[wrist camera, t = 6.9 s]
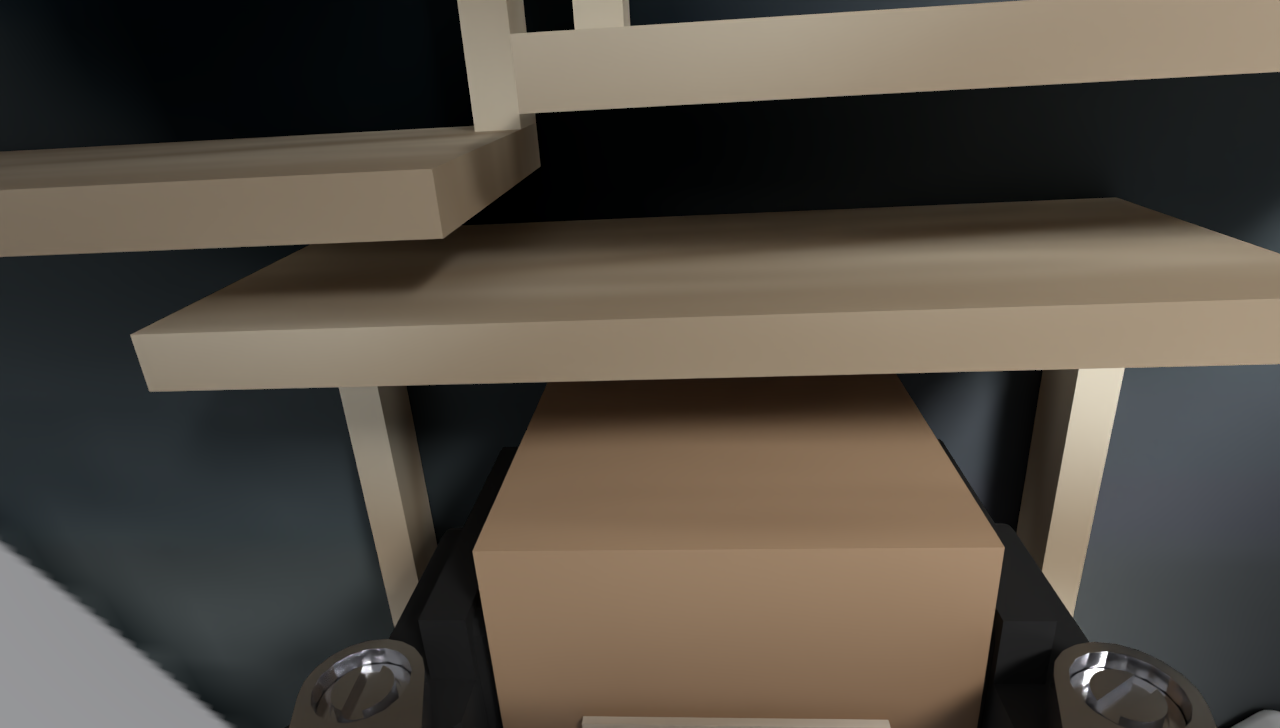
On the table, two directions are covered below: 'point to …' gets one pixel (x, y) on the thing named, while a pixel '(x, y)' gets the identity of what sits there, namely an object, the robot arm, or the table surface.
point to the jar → (1261, 720)
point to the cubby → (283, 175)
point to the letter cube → (736, 560)
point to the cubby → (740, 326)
